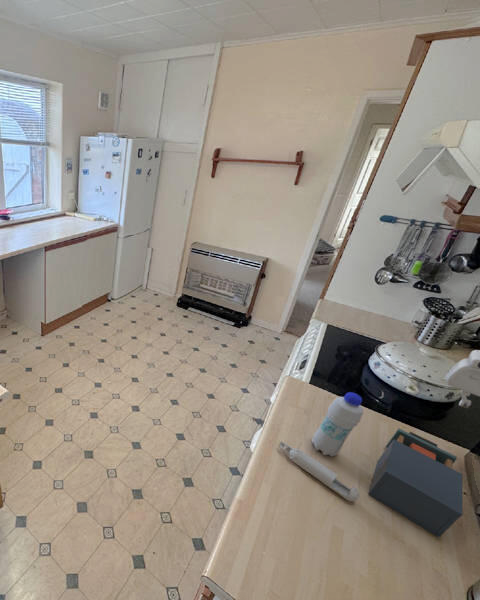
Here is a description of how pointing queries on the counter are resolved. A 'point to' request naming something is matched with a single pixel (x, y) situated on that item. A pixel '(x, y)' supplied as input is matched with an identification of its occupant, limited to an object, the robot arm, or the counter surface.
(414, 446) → the block
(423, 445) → the drawer
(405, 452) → the cabinet
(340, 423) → the bottle
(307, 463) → the white cylindrical device
